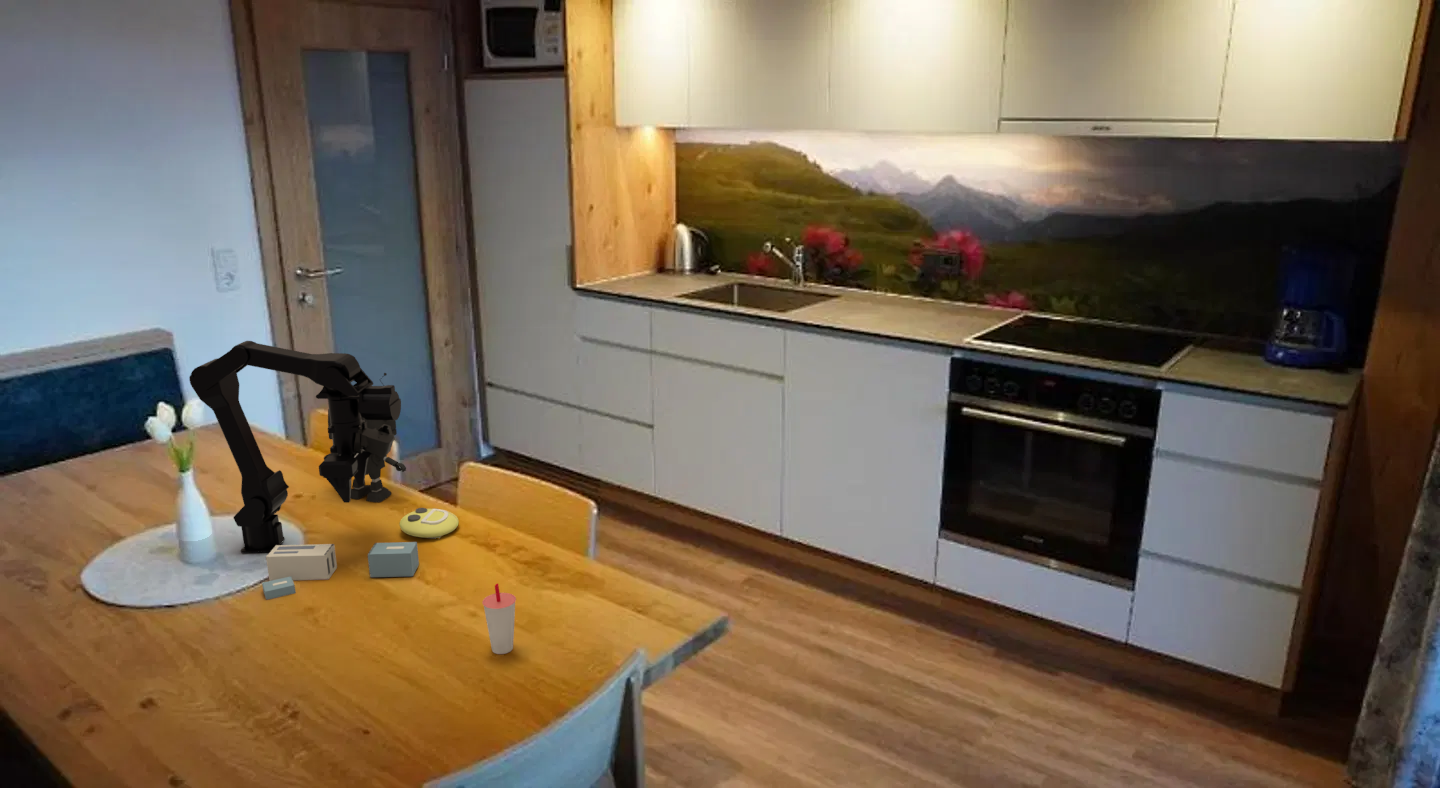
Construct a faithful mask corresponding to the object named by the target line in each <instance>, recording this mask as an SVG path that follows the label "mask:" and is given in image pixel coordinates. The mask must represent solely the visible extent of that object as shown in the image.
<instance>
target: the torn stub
mask: <svg viewBox="0 0 1440 788" xmlns="http://www.w3.org/2000/svg"><path fill="white" fill-rule="evenodd" d="M261 587H262V592H263V595H264V597H265V600H271V599H277V598H280V597H285V596H289V595H292V594H297V593H296V586H295V583H294V580H292V578H291V576H290V577H286V578H281V579H277V580H272V581H269V580H268V581H264V582H262V583H261Z"/></svg>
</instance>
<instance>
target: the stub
mask: <svg viewBox="0 0 1440 788" xmlns="http://www.w3.org/2000/svg"><path fill="white" fill-rule="evenodd" d="M367 561H368V562H367V563H368V569H369V570H368V571H369V577H370V578H393V577H396V578H397V577H399V578H400V577H414V575H415V573H416V571H417V569H418V567H419V565H420V560H419V551H418V542H417V541H406V542H405V541H404V542H403V541H399V542H374V544H373V546H372V547H371V548H370V550H369V552H368V553H367Z"/></svg>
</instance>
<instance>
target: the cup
mask: <svg viewBox="0 0 1440 788" xmlns="http://www.w3.org/2000/svg"><path fill="white" fill-rule="evenodd" d="M499 587H500V586H499V583H495V585H494V590H495V593H492V594H490V595H487V596H486V597H484V598H483V600H482V605H483V608H484V609H483V610H484V614H485V620H486V624H487V631H488V636H489V641H490V646H491V651H492V653H494V654H497V655H504V654H508V653H511V651H512V650H513V649H514V638H515V637H514V636H515V635H514V634H515V614H516V613H515V612H516V600H517V598H516V596H515V595H514V594H512V593H508V592H500V588H499Z"/></svg>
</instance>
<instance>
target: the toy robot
mask: <svg viewBox="0 0 1440 788" xmlns="http://www.w3.org/2000/svg"><path fill="white" fill-rule="evenodd" d="M386 376H387V373H386V372H384V373H383V377H386ZM379 381H380V383H381V384H382V385H384V383H383V382H382V380H381V379H379ZM361 420H365V422H366V423H367V428H369V429H374V428H376V430H378V429H379V428H380V427H381V426H382V425H383V424H386V425H389V426H391V430H392V434H394V436H396V435H397V432H398V431H397V422H396V421H397V420H366V419H365V418H362V417H361ZM330 425H331V423H330V415H329V408H328V410H327V428H328V427H329V426H330ZM328 439H329V440H332V433H328ZM332 455H338V454H337V453H328V454H326V455H324V457H323V461H324V460H325V459H326V458H327V457H328V456H332ZM386 464H388V465H390V466H392V467H394V468H395V469H396V471H397V472H402V473H403V472H405V471H407V466H405V464H403V463H402V462H399V461H397V460H395V459H393V458H392V457H389V456H388V455H387V456H386V457H381V456H378V455H377V454H374V453H372V454H371V455H370V456H369V458H368V462H367V468H366V474H365V476H369V479H370V480H371V481H370V485H369V484H367V485H366V480H364V484H363V485H358V484H357V482H356V480H355V478H354V477H353V479H352V485H351V498H350V500H351V499H352V500H361V499H362V498H364V497H365V496H366V499H365V501H366V502H373V503H382V502H383V501H385V500H386V499H388V498H389V497H390V496H391V495H392V492H391V490H389V489H388V488H387V487H385V486H384V485H383V481H382V479H381V471H382V469H384V468H385V467H386Z"/></svg>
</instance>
